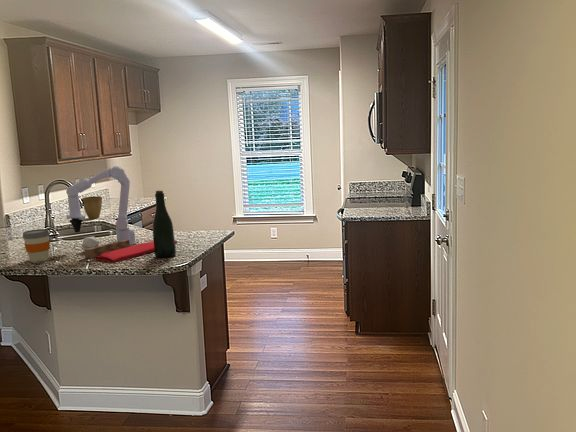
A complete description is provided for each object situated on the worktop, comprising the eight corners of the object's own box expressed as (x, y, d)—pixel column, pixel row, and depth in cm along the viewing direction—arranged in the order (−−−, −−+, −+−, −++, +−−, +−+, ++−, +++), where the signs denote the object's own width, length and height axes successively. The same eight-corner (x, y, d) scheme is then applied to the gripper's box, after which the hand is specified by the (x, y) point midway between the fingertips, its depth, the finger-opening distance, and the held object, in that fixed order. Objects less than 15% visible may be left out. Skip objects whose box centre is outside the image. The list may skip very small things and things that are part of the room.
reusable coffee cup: (22, 260, 289) (18, 232, 286) (46, 255, 297) (43, 228, 295) (31, 263, 280) (27, 234, 277) (56, 258, 288) (52, 230, 286)
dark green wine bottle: (180, 255, 279) (174, 189, 273) (162, 259, 271) (155, 192, 266) (168, 252, 286) (162, 188, 281) (150, 256, 279) (144, 191, 274)
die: (98, 250, 308) (85, 237, 306) (105, 243, 302) (92, 230, 301) (88, 258, 301) (75, 245, 300) (95, 252, 296) (82, 238, 294)
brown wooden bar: (126, 247, 306) (125, 239, 305) (130, 248, 304) (129, 239, 303) (85, 258, 285) (84, 249, 284) (88, 258, 283) (87, 250, 283)
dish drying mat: (94, 260, 281) (93, 253, 280) (159, 244, 312) (159, 237, 311) (112, 263, 271) (112, 256, 270) (178, 246, 302) (177, 240, 302)
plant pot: (79, 220, 420) (77, 199, 418) (92, 216, 434) (89, 196, 432) (96, 220, 416) (93, 198, 413) (108, 216, 430) (106, 196, 427)
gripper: (60, 208, 305) (63, 232, 307) (75, 209, 297) (78, 234, 299) (71, 206, 311) (74, 230, 313) (87, 207, 302) (90, 231, 304)
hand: (77, 232), depth 306 cm, fingers closed
